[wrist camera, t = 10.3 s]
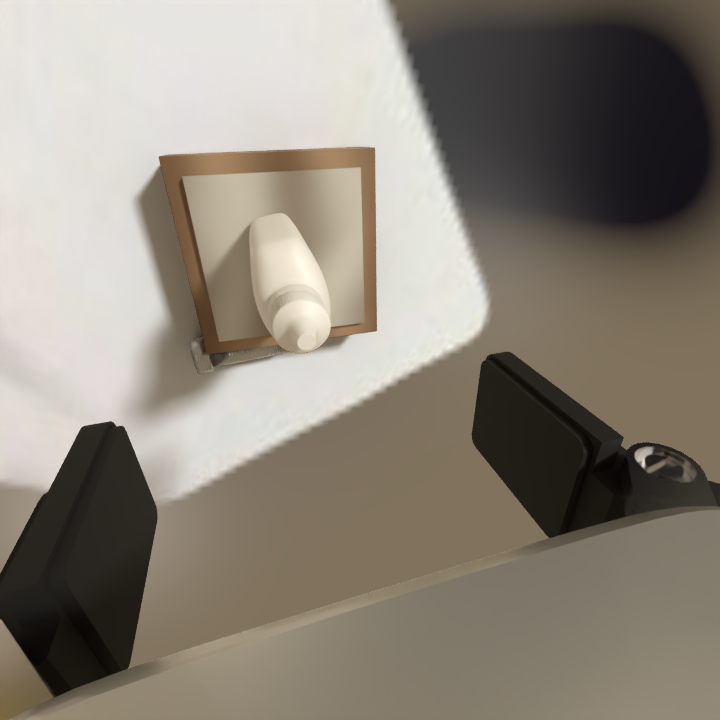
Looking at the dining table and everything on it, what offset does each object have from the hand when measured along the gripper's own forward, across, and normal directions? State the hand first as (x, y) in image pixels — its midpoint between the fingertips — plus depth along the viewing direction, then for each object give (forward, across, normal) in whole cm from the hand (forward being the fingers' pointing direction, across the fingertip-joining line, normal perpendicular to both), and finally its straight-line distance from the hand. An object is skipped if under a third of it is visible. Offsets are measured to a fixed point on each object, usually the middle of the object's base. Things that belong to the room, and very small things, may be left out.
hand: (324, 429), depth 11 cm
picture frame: (+20, -1, 0) cm, 20 cm away
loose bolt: (+20, +2, +8) cm, 22 cm away
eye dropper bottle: (+17, -1, 0) cm, 17 cm away
